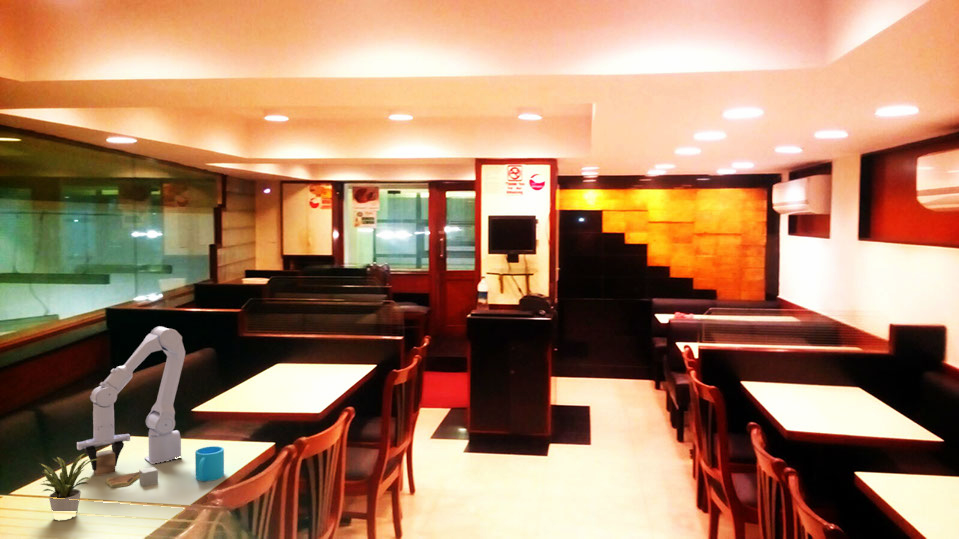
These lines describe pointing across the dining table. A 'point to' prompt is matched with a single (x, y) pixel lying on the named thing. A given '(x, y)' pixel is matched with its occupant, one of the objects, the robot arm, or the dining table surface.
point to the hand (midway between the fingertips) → (104, 467)
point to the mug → (209, 463)
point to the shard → (122, 480)
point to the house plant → (65, 486)
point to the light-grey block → (148, 476)
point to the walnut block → (105, 462)
